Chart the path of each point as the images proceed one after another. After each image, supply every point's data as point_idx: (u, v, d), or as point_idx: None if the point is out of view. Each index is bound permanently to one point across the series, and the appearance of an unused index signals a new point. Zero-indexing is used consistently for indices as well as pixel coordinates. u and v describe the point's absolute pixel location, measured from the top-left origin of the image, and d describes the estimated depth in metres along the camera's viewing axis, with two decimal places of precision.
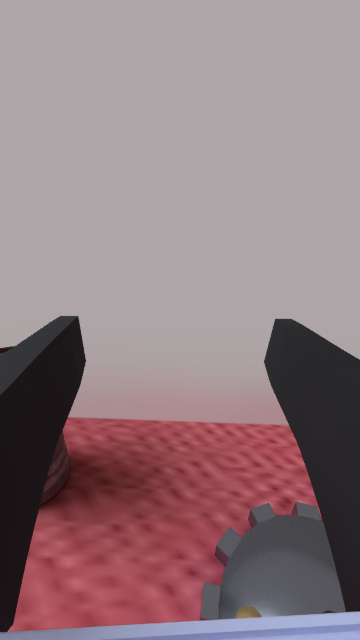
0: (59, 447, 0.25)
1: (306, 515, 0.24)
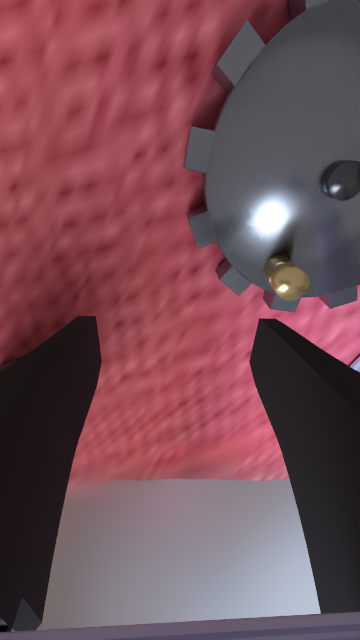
0: None
1: (244, 66, 0.12)
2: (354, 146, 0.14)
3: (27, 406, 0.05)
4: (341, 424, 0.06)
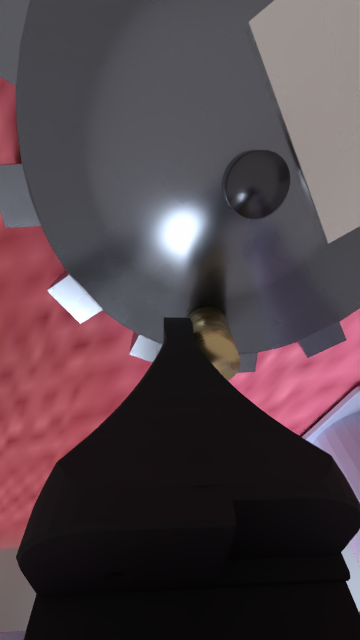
0: None
1: (14, 48, 0.07)
2: (259, 123, 0.08)
3: None
4: None
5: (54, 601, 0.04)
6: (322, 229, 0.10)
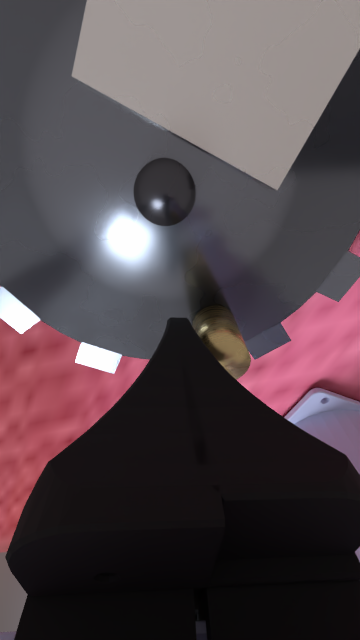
0: None
1: None
2: (137, 139, 0.08)
3: None
4: None
5: (45, 601, 0.04)
6: (262, 182, 0.09)
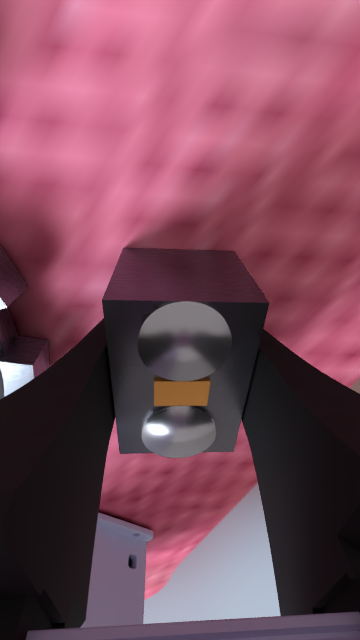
0: None
1: None
2: None
3: (77, 406, 0.05)
4: (297, 425, 0.06)
5: None
6: None
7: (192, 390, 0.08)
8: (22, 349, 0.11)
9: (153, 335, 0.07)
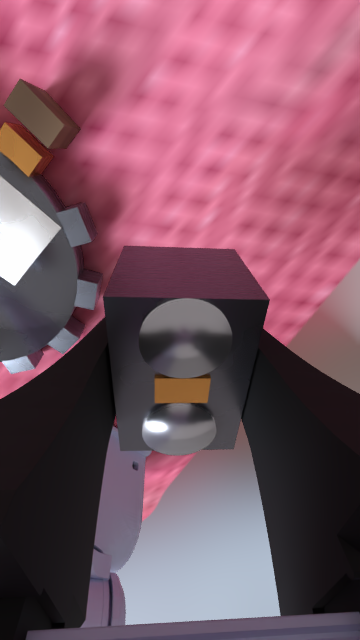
0: None
1: None
2: None
3: (77, 406, 0.05)
4: (296, 424, 0.06)
5: None
6: (6, 278, 0.16)
7: (192, 387, 0.08)
8: (88, 275, 0.17)
9: (154, 332, 0.07)
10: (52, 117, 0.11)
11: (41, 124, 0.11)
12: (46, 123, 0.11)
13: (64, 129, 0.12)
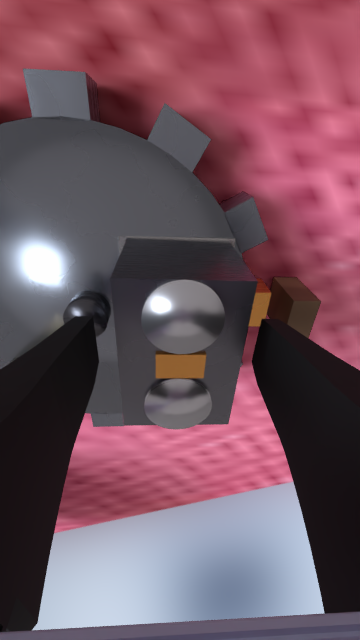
0: None
1: None
2: (108, 283, 0.12)
3: (22, 406, 0.05)
4: (345, 424, 0.06)
5: None
6: None
7: (190, 363, 0.09)
8: None
9: (155, 310, 0.08)
10: (307, 330, 0.13)
11: (297, 327, 0.13)
12: (300, 329, 0.13)
13: None
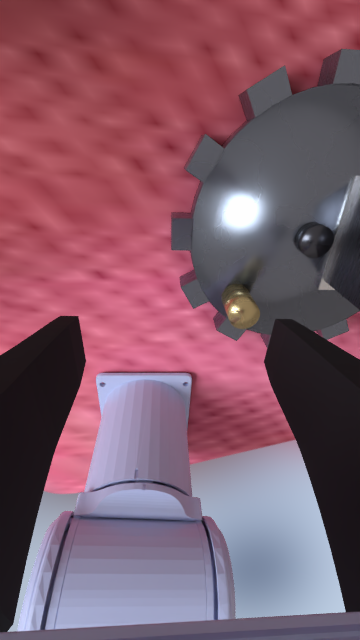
0: None
1: (269, 104, 0.13)
2: (331, 215, 0.16)
3: None
4: None
5: None
6: (320, 281, 0.18)
7: None
8: None
9: None
10: None
11: None
12: None
13: None
